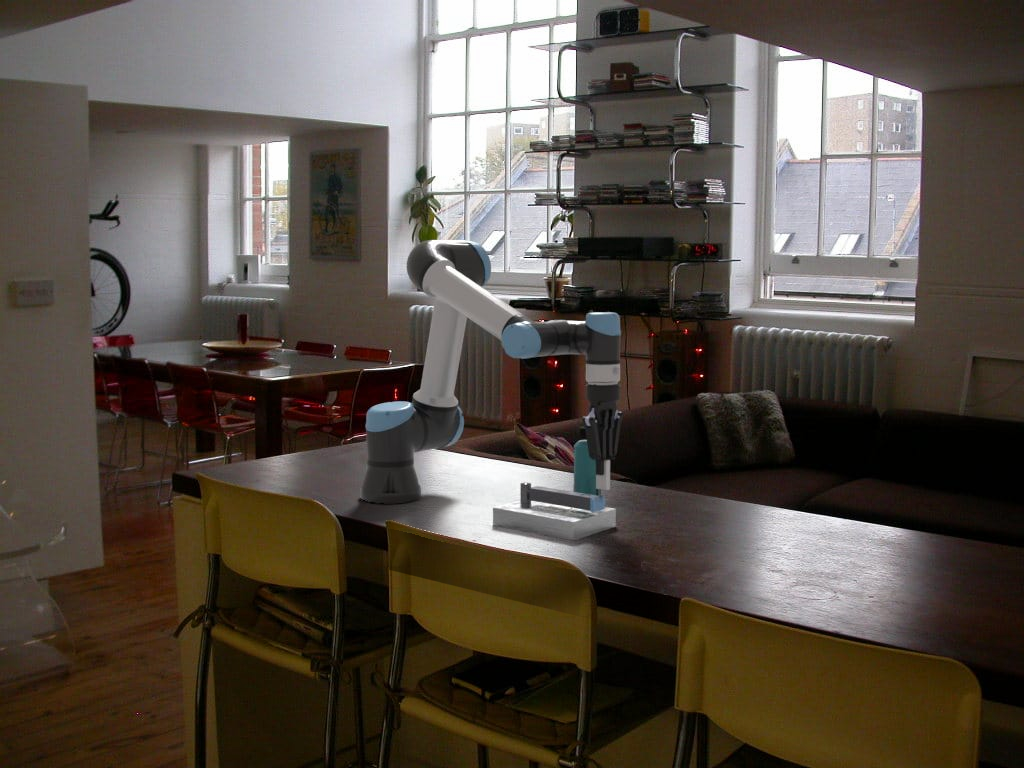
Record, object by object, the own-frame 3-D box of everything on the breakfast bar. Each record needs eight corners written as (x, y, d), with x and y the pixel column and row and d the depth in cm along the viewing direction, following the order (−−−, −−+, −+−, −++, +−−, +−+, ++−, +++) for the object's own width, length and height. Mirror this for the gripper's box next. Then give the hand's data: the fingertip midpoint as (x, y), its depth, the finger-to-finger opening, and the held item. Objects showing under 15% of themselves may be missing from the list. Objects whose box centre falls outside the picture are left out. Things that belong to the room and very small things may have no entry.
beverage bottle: (599, 514, 255) (599, 429, 253) (570, 512, 256) (571, 428, 254) (602, 508, 261) (603, 425, 259) (574, 506, 263) (575, 424, 260)
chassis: (492, 525, 244) (492, 487, 243) (536, 512, 257) (536, 476, 256) (573, 540, 231) (573, 500, 230) (615, 526, 243) (615, 488, 242)
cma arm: (527, 500, 245) (527, 488, 245) (539, 497, 248) (539, 485, 248) (593, 512, 234) (593, 499, 234) (604, 508, 237) (605, 495, 237)
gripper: (600, 386, 233) (600, 495, 236) (633, 381, 243) (633, 486, 246) (571, 384, 238) (572, 491, 240) (605, 379, 248) (605, 482, 250)
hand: (603, 488), depth 243 cm, fingers closed
